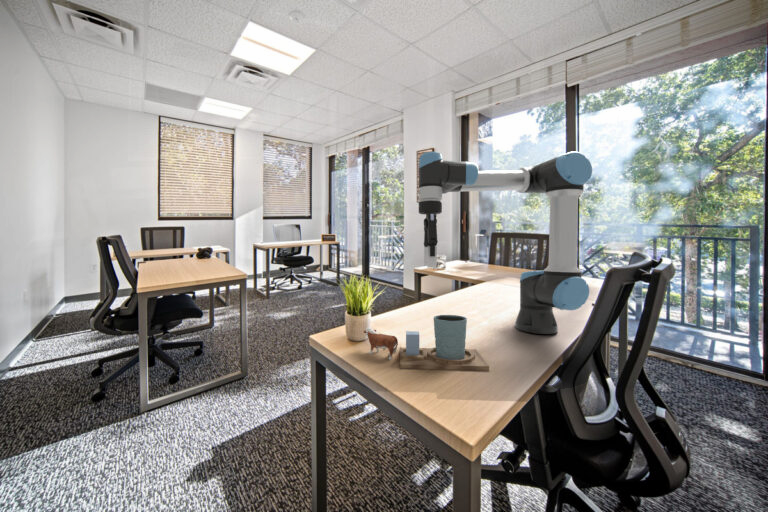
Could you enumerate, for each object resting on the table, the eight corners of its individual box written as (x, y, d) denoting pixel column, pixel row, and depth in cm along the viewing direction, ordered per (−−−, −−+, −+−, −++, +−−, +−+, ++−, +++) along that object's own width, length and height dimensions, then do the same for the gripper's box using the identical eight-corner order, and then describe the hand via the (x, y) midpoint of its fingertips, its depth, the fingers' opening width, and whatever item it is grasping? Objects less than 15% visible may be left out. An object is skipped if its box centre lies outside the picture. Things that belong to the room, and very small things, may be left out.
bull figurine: (368, 349, 108) (368, 325, 108) (400, 358, 99) (400, 332, 99) (359, 353, 104) (359, 328, 104) (391, 362, 96) (392, 335, 96)
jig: (475, 352, 105) (475, 346, 105) (489, 370, 89) (489, 362, 89) (400, 351, 106) (400, 344, 106) (400, 368, 90) (400, 360, 90)
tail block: (418, 353, 100) (418, 331, 100) (419, 357, 96) (419, 334, 96) (405, 353, 100) (406, 331, 100) (406, 357, 96) (406, 334, 96)
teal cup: (450, 364, 90) (451, 322, 90) (426, 355, 99) (426, 316, 99) (473, 357, 96) (473, 318, 96) (448, 349, 105) (448, 313, 105)
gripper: (416, 207, 116) (416, 265, 116) (421, 194, 91) (420, 268, 91) (437, 207, 116) (437, 265, 116) (447, 194, 91) (447, 268, 91)
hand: (429, 266), depth 104 cm, fingers open, 13 cm apart
